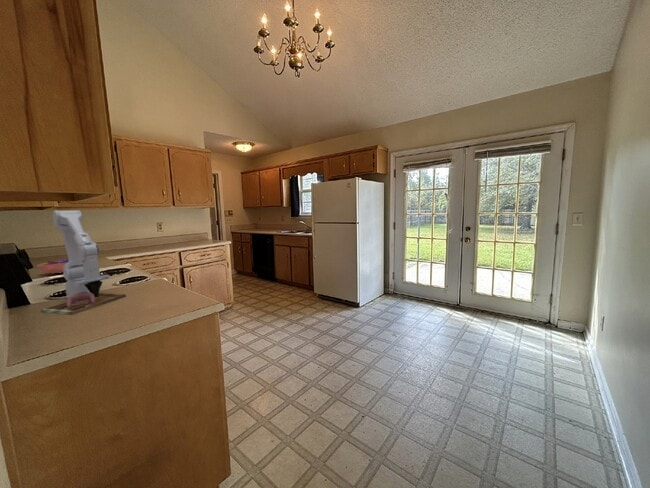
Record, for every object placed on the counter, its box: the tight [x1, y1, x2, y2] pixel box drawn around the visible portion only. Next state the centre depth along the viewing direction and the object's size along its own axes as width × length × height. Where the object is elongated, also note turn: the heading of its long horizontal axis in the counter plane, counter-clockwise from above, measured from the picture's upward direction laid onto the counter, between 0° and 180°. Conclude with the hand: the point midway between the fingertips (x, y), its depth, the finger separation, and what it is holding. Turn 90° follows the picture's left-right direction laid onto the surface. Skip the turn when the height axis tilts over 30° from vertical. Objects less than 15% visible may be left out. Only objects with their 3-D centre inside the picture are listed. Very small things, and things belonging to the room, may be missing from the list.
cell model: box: [36, 257, 71, 275], centre depth 197 cm, size 17×20×11 cm
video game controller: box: [66, 292, 96, 310], centre depth 126 cm, size 10×5×7 cm, turn 130°
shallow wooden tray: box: [40, 292, 127, 316], centre depth 128 cm, size 18×24×1 cm
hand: (95, 296), depth 132 cm, fingers closed
